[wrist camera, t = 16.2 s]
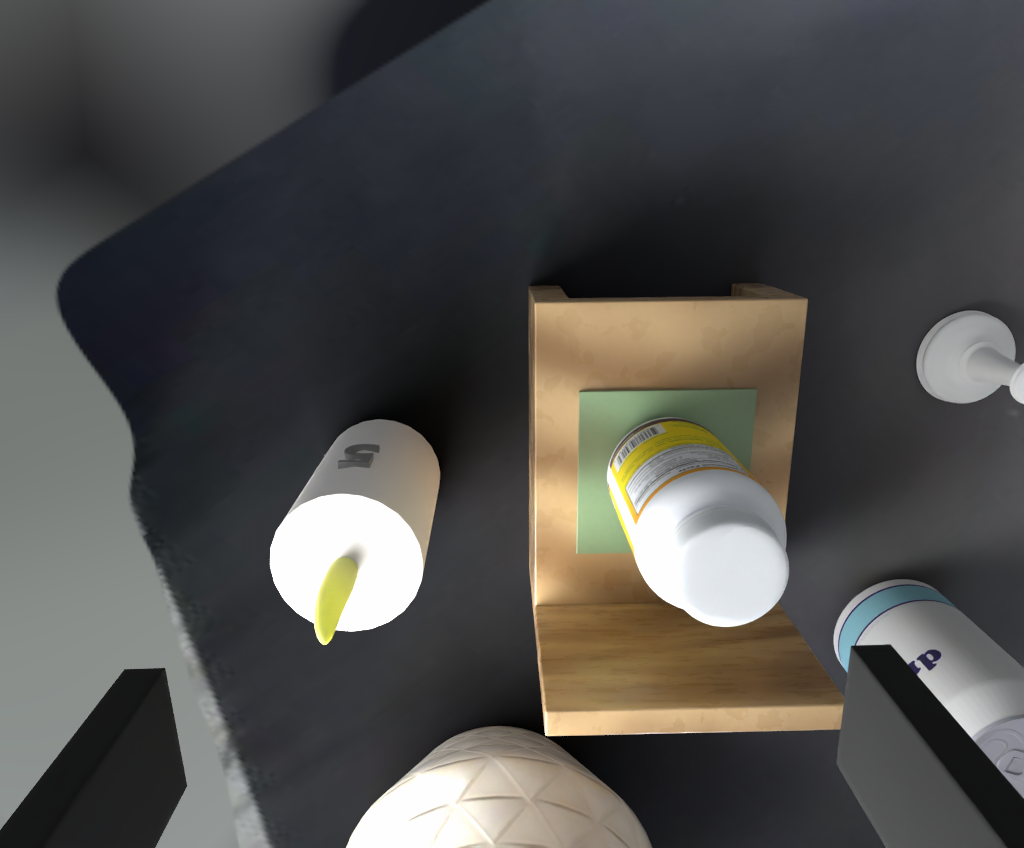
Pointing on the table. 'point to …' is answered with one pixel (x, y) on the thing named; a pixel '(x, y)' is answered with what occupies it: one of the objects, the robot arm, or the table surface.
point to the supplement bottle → (698, 522)
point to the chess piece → (969, 359)
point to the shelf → (600, 536)
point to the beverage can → (945, 663)
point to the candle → (359, 530)
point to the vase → (499, 799)
